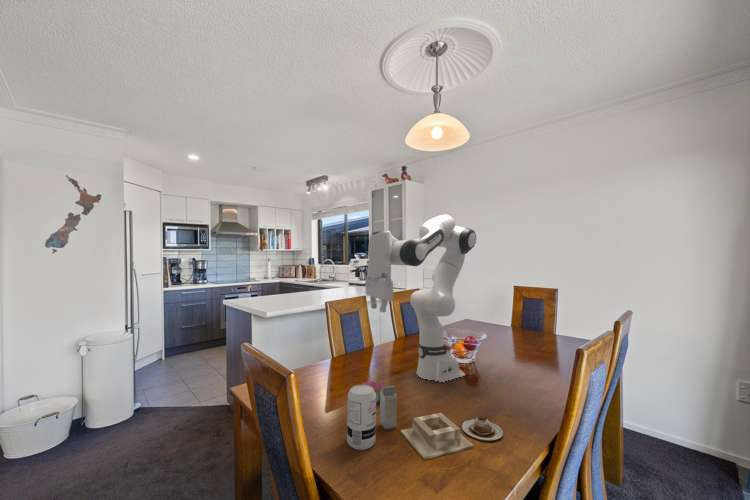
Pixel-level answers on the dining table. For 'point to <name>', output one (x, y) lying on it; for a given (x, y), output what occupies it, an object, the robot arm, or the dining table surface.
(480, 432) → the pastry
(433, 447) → the well
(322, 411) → the dining table surface
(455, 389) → the dining table surface
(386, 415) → the grey long block
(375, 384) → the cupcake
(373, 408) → the supplement can
